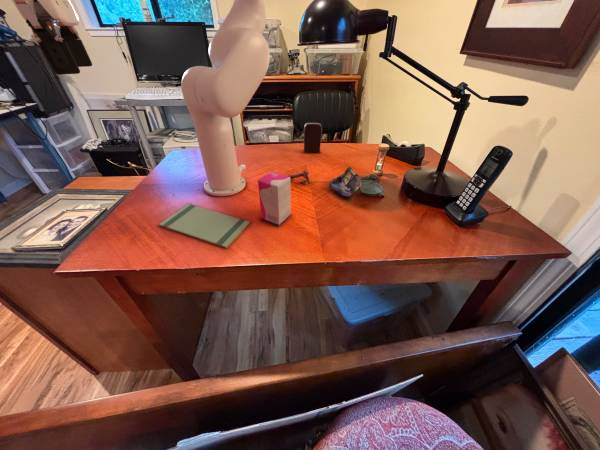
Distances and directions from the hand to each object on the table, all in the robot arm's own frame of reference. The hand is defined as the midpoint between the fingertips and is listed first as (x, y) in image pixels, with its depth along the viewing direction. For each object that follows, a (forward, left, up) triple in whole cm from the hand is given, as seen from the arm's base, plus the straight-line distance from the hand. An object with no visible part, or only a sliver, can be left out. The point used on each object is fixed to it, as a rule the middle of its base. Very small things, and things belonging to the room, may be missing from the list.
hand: (76, 69), depth 41 cm
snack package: (-36, +44, -33) cm, 66 cm away
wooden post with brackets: (-34, +28, -33) cm, 55 cm away
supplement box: (-14, +30, -33) cm, 46 cm away
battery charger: (-60, +23, -33) cm, 72 cm away
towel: (-4, +15, -33) cm, 36 cm away
